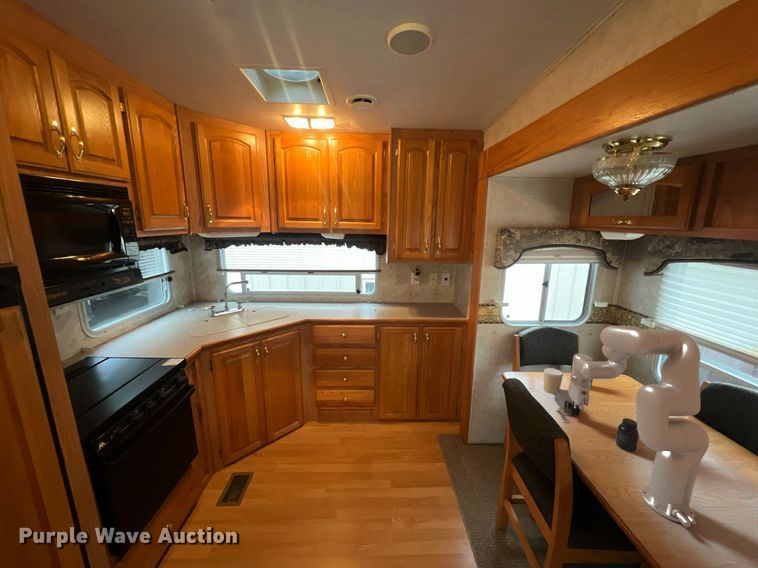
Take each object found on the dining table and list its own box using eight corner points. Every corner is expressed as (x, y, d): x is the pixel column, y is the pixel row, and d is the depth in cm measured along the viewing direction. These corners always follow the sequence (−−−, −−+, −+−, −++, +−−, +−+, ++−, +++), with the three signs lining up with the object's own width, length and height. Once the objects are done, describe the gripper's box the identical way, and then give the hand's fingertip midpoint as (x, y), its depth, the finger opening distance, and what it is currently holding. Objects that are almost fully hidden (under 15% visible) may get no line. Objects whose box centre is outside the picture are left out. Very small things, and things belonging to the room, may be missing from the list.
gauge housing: (584, 424, 136) (586, 412, 135) (563, 422, 138) (564, 410, 137) (566, 401, 155) (567, 390, 154) (547, 399, 157) (549, 388, 156)
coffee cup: (564, 395, 161) (566, 375, 159) (547, 395, 161) (550, 375, 159) (554, 386, 170) (556, 367, 168) (538, 386, 170) (540, 367, 168)
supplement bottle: (640, 453, 118) (645, 428, 116) (621, 451, 120) (626, 425, 118) (629, 442, 125) (634, 417, 123) (611, 439, 126) (616, 415, 124)
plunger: (577, 414, 142) (579, 404, 141) (559, 412, 144) (560, 402, 143) (567, 402, 153) (569, 392, 152) (550, 400, 154) (551, 390, 153)
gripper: (597, 388, 129) (591, 425, 132) (580, 373, 143) (576, 406, 146) (578, 387, 130) (573, 423, 133) (564, 371, 144) (560, 404, 148)
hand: (575, 414), depth 140 cm, fingers closed
